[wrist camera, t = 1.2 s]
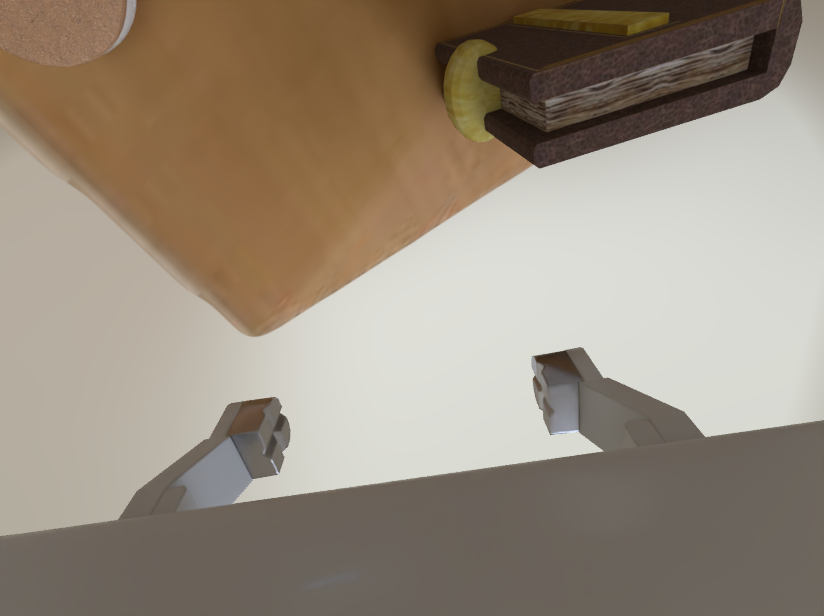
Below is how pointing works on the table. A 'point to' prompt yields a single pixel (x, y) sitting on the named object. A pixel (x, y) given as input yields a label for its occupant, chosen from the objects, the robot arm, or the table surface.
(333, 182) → the table surface
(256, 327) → the table surface
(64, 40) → the lidded bowl
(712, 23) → the book
